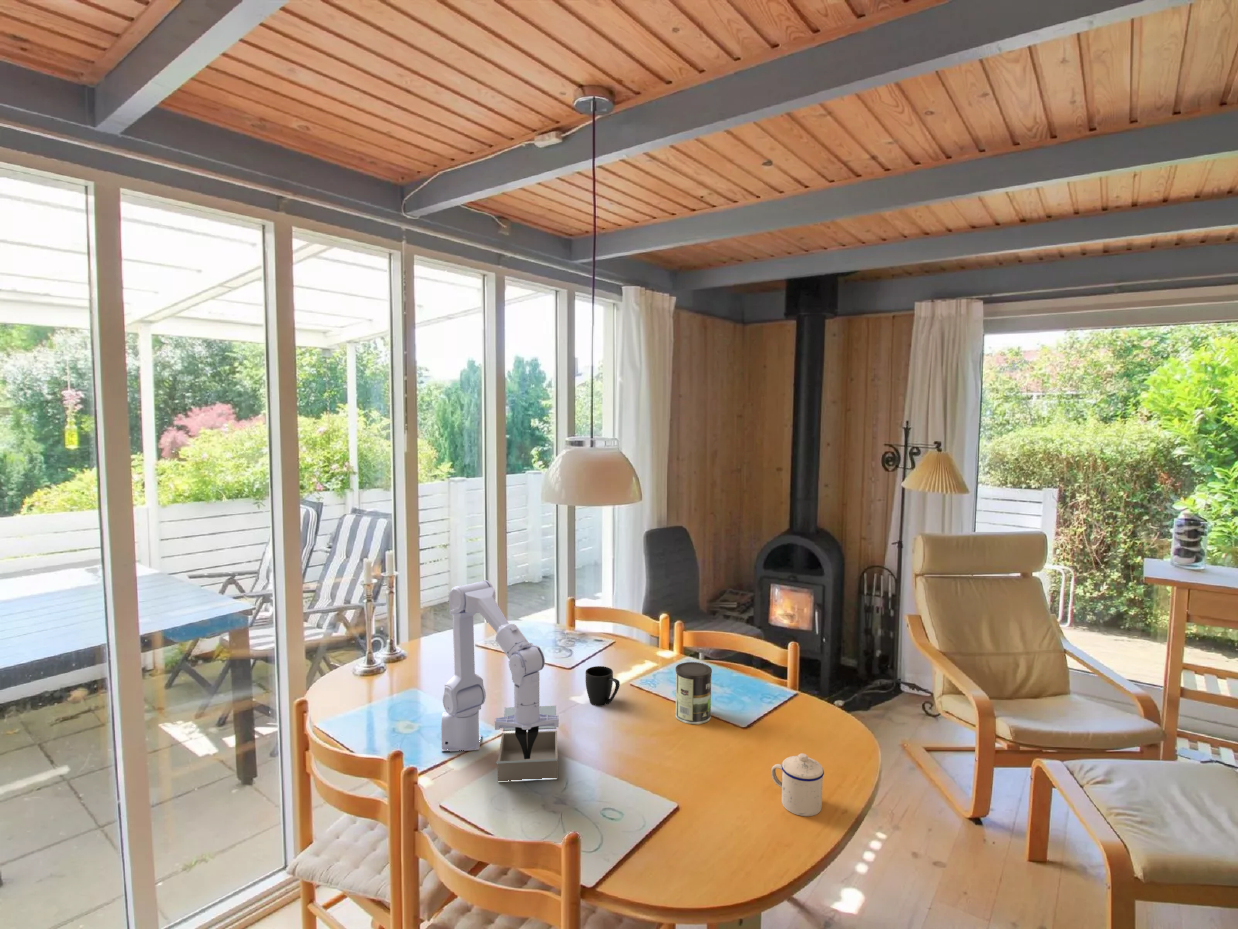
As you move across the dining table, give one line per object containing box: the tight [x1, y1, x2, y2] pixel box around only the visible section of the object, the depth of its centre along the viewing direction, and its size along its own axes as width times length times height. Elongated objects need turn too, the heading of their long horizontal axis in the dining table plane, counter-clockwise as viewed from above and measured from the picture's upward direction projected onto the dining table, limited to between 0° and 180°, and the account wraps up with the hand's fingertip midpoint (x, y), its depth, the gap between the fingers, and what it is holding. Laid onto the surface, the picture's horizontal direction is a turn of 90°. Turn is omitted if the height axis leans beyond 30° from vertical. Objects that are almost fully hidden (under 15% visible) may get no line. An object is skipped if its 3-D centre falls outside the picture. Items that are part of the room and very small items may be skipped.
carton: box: [497, 730, 559, 782], centre depth 161 cm, size 14×14×5 cm
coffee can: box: [674, 661, 713, 725], centre depth 187 cm, size 10×10×14 cm
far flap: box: [502, 705, 557, 732], centre depth 171 cm, size 14×7×1 cm, turn 96°
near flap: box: [495, 759, 557, 765], centre depth 150 cm, size 14×7×1 cm, turn 96°
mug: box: [585, 665, 621, 707], centre depth 195 cm, size 8×12×10 cm
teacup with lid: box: [770, 752, 825, 817], centre depth 146 cm, size 12×9×12 cm
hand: (527, 756), depth 151 cm, fingers closed
